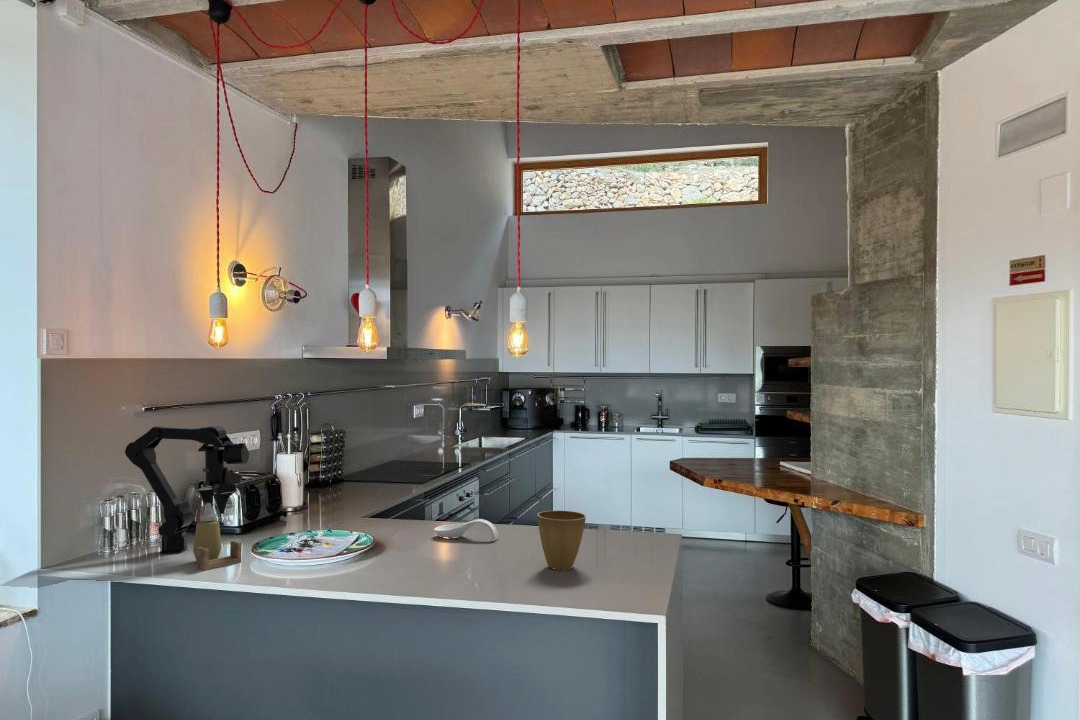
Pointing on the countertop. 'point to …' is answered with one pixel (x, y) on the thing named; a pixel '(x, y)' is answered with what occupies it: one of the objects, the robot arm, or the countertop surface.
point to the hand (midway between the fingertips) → (215, 512)
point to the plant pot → (561, 536)
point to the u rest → (208, 564)
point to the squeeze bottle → (208, 534)
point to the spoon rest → (464, 529)
